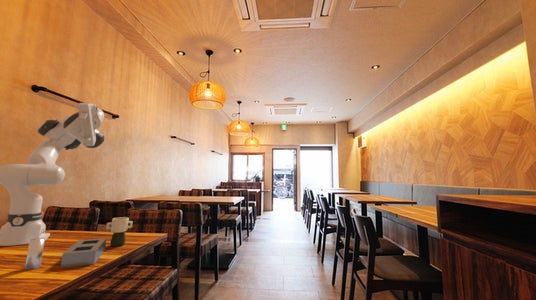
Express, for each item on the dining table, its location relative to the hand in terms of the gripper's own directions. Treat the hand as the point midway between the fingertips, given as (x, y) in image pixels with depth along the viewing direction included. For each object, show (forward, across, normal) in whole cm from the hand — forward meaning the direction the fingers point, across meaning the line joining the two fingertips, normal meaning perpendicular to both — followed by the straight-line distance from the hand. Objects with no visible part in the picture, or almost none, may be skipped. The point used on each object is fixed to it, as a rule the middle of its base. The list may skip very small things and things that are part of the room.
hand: (84, 129), depth 98 cm
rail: (+27, -47, 0) cm, 55 cm away
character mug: (+14, -56, +9) cm, 59 cm away
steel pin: (+31, -43, -14) cm, 55 cm away
